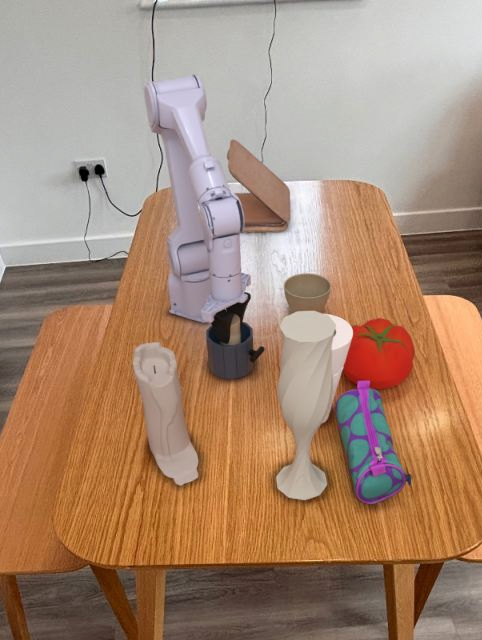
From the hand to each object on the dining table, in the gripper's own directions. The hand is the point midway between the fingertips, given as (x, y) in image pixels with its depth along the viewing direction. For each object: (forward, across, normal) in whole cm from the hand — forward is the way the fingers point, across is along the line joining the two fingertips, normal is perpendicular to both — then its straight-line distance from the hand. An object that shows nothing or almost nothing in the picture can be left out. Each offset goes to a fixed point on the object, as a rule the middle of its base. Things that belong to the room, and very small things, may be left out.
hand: (229, 335), depth 123 cm
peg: (+1, 0, 0) cm, 1 cm away
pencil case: (+7, -13, -34) cm, 38 cm away
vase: (+7, -22, -26) cm, 35 cm away
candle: (+7, -27, -4) cm, 28 cm away
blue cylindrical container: (+7, 0, -1) cm, 7 cm away
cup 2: (+7, -6, -22) cm, 23 cm away
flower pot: (+7, +23, -6) cm, 25 cm away
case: (+7, +59, +28) cm, 66 cm away
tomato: (+7, +10, -26) cm, 29 cm away
